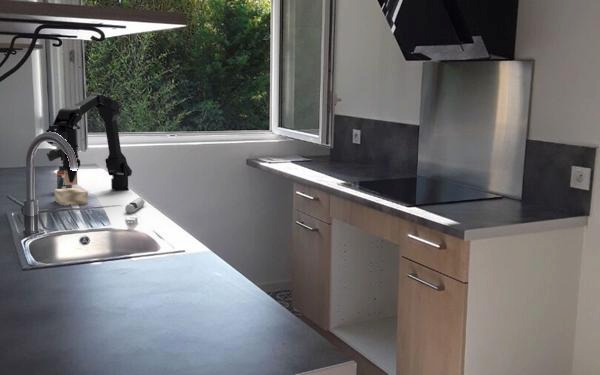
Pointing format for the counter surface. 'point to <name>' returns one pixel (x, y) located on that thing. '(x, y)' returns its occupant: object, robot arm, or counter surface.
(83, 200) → the beech block
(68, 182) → the terracotta cube
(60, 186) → the supplement bottle
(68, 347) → the counter surface
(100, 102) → the robot arm
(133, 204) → the torpedo
